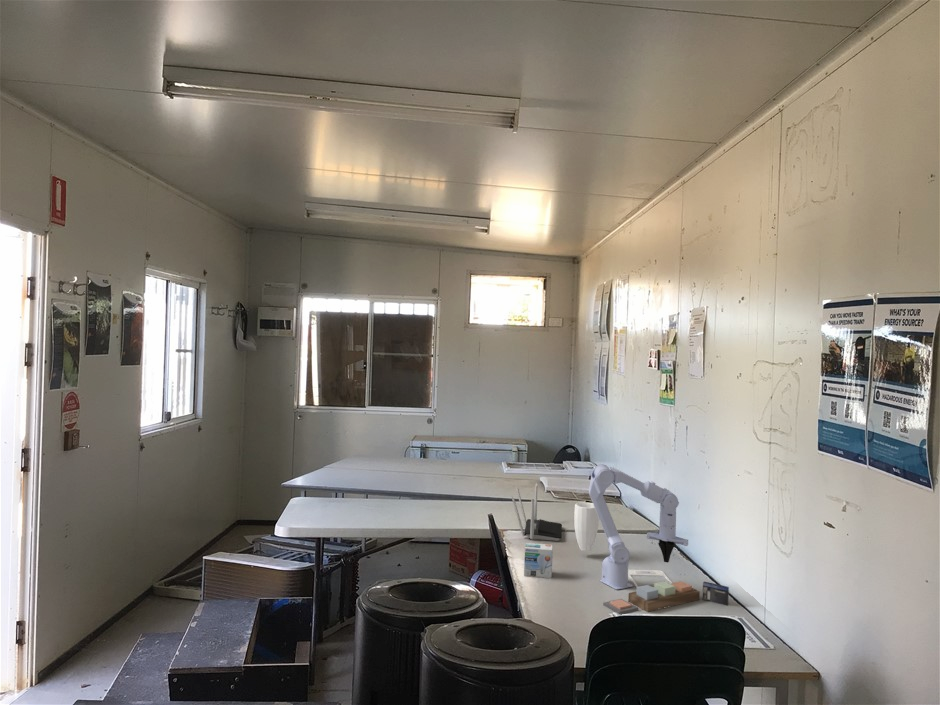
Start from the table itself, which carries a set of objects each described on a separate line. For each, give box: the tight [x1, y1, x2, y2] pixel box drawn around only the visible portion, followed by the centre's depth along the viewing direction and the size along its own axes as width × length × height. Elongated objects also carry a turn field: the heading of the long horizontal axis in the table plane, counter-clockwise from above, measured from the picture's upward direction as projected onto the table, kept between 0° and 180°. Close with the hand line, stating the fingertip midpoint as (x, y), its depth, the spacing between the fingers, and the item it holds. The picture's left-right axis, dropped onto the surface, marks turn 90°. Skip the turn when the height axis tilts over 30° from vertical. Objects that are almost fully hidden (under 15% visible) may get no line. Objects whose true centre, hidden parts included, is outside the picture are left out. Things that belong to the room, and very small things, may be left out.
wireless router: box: [511, 482, 563, 542], centre depth 287 cm, size 34×23×20 cm
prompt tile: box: [602, 598, 639, 615], centre depth 205 cm, size 8×8×1 cm
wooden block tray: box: [627, 587, 701, 613], centre depth 212 cm, size 9×24×3 cm, turn 118°
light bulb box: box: [523, 542, 554, 579], centre depth 234 cm, size 11×7×11 cm, turn 82°
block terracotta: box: [671, 580, 693, 593], centre depth 216 cm, size 5×5×4 cm
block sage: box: [653, 580, 675, 596], centre depth 212 cm, size 5×5×4 cm
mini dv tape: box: [701, 581, 730, 606], centre depth 212 cm, size 8×2×6 cm, turn 56°
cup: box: [573, 501, 600, 552], centre depth 256 cm, size 10×10×22 cm
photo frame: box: [628, 569, 673, 589], centre depth 232 cm, size 15×1×18 cm
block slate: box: [636, 584, 658, 600], centre depth 208 cm, size 5×5×4 cm
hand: (666, 561), depth 224 cm, fingers closed
